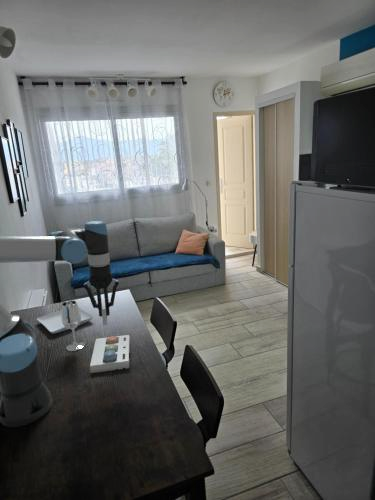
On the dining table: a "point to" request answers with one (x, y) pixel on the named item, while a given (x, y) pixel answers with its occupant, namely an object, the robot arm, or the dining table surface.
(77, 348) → the wineglass
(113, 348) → the sage button
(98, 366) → the button panel
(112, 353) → the slate button
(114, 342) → the terracotta button
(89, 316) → the salad plate
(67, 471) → the dining table surface
